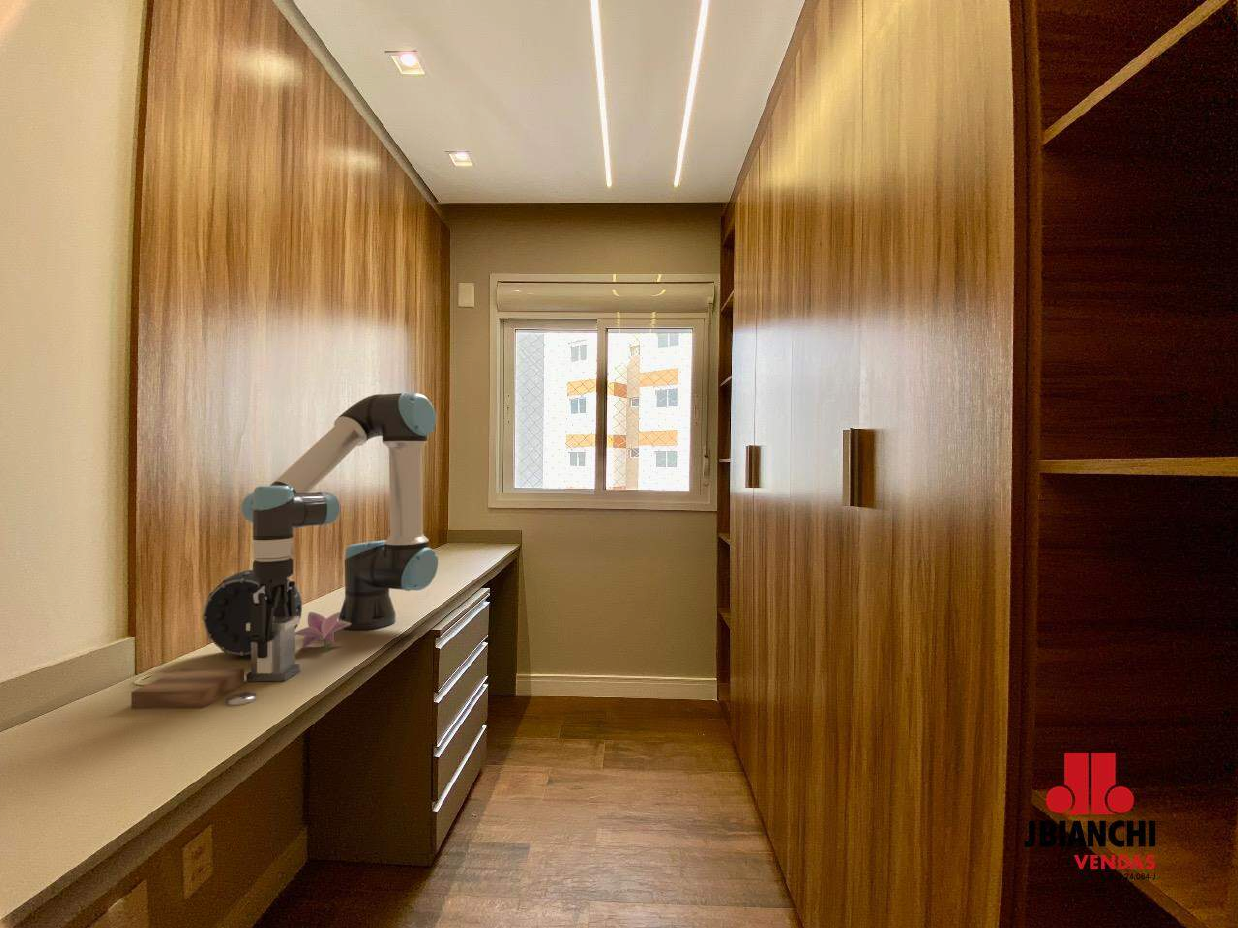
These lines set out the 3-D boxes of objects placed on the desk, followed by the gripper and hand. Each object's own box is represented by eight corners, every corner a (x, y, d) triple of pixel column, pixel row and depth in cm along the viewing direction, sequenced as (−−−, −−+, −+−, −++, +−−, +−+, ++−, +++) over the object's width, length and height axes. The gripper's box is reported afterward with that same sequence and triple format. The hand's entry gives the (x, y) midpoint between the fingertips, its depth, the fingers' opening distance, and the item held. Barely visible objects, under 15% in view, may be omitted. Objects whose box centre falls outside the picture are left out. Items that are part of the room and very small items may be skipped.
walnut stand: (180, 683, 126) (180, 668, 126) (244, 682, 127) (244, 668, 127) (131, 708, 113) (131, 692, 113) (202, 707, 114) (202, 691, 114)
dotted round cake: (285, 660, 141) (285, 573, 141) (196, 661, 140) (196, 574, 140) (307, 646, 151) (307, 566, 152) (225, 647, 151) (225, 566, 151)
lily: (359, 647, 155) (350, 611, 158) (345, 641, 144) (336, 602, 147) (310, 665, 152) (302, 628, 155) (291, 660, 141) (283, 621, 145)
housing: (262, 671, 133) (262, 616, 133) (299, 670, 133) (299, 615, 133) (246, 681, 127) (246, 623, 127) (285, 680, 127) (285, 623, 127)
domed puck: (235, 697, 120) (235, 692, 120) (261, 697, 120) (261, 692, 120) (220, 707, 115) (220, 702, 115) (247, 707, 115) (247, 701, 115)
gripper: (279, 551, 140) (279, 653, 140) (227, 566, 121) (228, 683, 121) (312, 551, 140) (312, 652, 140) (266, 565, 121) (266, 682, 121)
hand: (273, 666), depth 130 cm, fingers closed on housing, 6 cm apart
